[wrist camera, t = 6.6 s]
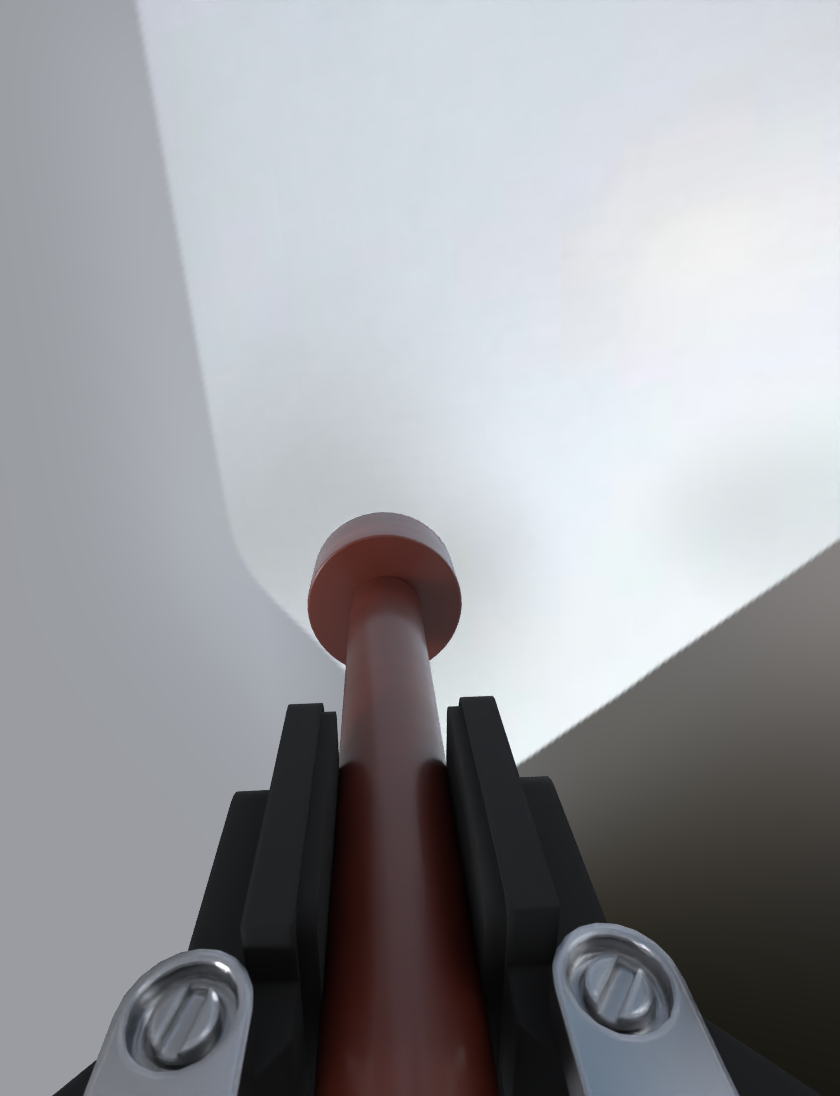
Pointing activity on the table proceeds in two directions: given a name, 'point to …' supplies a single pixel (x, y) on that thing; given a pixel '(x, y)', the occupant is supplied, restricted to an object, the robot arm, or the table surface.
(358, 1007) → the red capped peg
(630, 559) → the table surface
